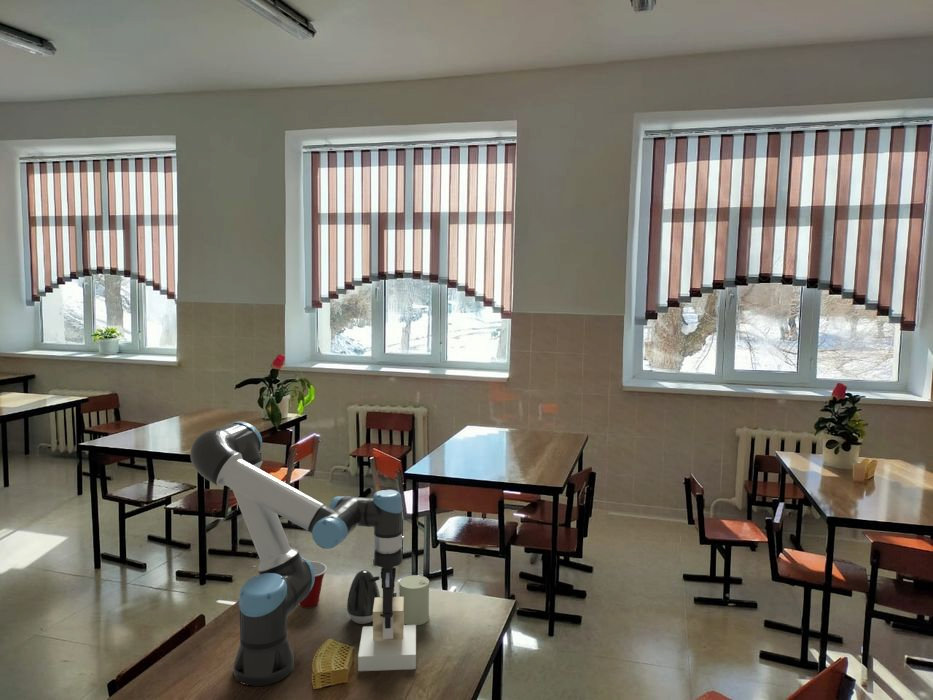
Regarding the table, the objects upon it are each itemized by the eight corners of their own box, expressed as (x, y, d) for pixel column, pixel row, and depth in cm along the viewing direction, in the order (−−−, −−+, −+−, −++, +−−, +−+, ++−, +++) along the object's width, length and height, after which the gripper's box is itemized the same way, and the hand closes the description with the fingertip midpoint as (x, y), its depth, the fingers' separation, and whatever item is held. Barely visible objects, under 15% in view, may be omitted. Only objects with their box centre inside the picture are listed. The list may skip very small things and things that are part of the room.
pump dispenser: (370, 631, 185) (370, 581, 184) (340, 624, 189) (339, 574, 188) (387, 615, 195) (387, 567, 193) (358, 608, 199) (358, 561, 197)
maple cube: (373, 640, 169) (372, 611, 168) (374, 625, 177) (374, 597, 176) (403, 639, 170) (403, 610, 169) (403, 624, 178) (403, 596, 177)
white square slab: (358, 671, 166) (358, 656, 165) (362, 640, 181) (362, 626, 180) (415, 669, 167) (415, 654, 167) (415, 638, 182) (415, 624, 181)
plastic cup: (322, 612, 196) (322, 574, 195) (287, 611, 196) (287, 574, 195) (330, 595, 207) (330, 560, 206) (297, 595, 207) (297, 559, 206)
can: (424, 627, 188) (424, 588, 187) (394, 624, 190) (394, 585, 189) (432, 612, 197) (432, 575, 196) (404, 609, 199) (404, 572, 198)
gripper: (401, 564, 161) (401, 650, 163) (403, 533, 182) (403, 610, 184) (371, 565, 161) (372, 651, 162) (376, 534, 181) (377, 611, 183)
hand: (388, 629), depth 173 cm, fingers closed on maple cube, 8 cm apart
